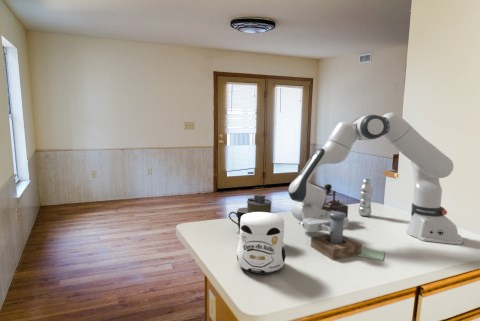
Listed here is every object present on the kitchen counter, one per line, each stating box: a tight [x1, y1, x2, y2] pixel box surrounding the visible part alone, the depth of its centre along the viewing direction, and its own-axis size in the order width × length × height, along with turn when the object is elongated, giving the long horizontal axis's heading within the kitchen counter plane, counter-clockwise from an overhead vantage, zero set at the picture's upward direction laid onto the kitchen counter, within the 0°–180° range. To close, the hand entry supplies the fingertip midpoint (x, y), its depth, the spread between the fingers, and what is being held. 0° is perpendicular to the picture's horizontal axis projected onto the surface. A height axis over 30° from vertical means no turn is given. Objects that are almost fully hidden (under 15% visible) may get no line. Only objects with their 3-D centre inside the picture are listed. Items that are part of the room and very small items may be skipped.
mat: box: [357, 247, 385, 262], centre depth 135 cm, size 9×9×1 cm
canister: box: [246, 193, 273, 213], centre depth 146 cm, size 11×10×20 cm
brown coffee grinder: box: [322, 183, 349, 218], centre depth 175 cm, size 16×11×18 cm
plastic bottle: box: [358, 178, 374, 217], centre depth 185 cm, size 6×7×20 cm
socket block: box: [310, 233, 363, 261], centre depth 138 cm, size 14×14×4 cm
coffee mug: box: [228, 207, 247, 233], centre depth 159 cm, size 12×9×10 cm
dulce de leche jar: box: [236, 212, 286, 274], centre depth 121 cm, size 17×17×18 cm
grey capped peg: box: [329, 211, 346, 245], centre depth 137 cm, size 6×6×15 cm
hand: (338, 229), depth 136 cm, fingers closed on grey capped peg, 5 cm apart
